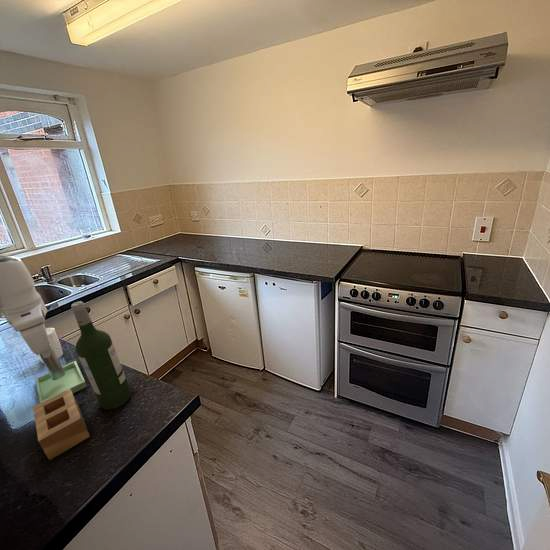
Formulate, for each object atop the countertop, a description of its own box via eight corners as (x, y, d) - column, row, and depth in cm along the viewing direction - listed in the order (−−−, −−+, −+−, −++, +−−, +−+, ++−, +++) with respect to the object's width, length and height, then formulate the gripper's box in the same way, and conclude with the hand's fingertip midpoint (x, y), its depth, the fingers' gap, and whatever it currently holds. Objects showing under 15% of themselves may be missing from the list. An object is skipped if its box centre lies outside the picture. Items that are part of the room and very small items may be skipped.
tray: (37, 383, 94) (35, 378, 93) (77, 365, 101) (75, 360, 100) (42, 408, 83) (39, 403, 82) (87, 386, 90) (84, 381, 89)
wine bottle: (137, 394, 84) (101, 298, 73) (110, 414, 78) (66, 314, 67) (122, 385, 88) (85, 294, 77) (95, 404, 82) (51, 308, 71)
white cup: (38, 358, 108) (26, 334, 104) (64, 348, 112) (53, 325, 109) (40, 367, 102) (27, 343, 98) (66, 356, 107) (55, 332, 103)
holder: (42, 424, 78) (32, 406, 75) (78, 405, 82) (70, 388, 80) (49, 460, 67) (38, 441, 65) (89, 436, 72) (80, 418, 70)
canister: (49, 379, 90) (32, 346, 85) (59, 372, 93) (43, 339, 88) (58, 380, 89) (41, 347, 84) (67, 372, 92) (52, 340, 87)
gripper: (10, 306, 88) (31, 345, 93) (13, 329, 73) (36, 373, 78) (36, 298, 92) (54, 336, 97) (43, 318, 77) (64, 361, 82)
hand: (46, 353), depth 87 cm, fingers closed on canister, 3 cm apart
